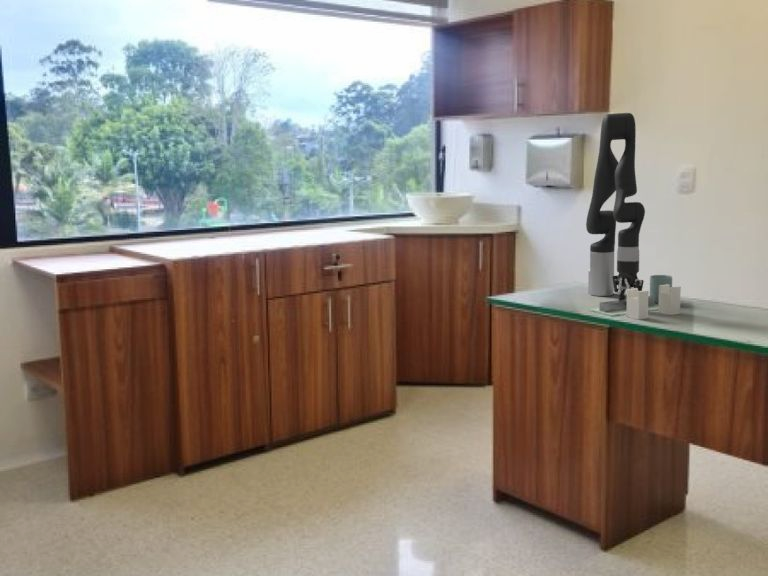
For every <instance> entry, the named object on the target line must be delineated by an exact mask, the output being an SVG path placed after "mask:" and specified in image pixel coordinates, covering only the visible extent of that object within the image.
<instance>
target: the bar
mask: <svg viewBox="0 0 768 576" xmlns="http://www.w3.org/2000/svg"><path fill="white" fill-rule="evenodd" d="M654 305H655V303H654V297H650V295H648V307H649V306H654ZM598 308H599V311H601V312H612V311H619V310H626V309H627V298H625V299H624V300H619V299H617V300H611V301H610V300H608V301H602V302H599V307H598Z"/></svg>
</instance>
